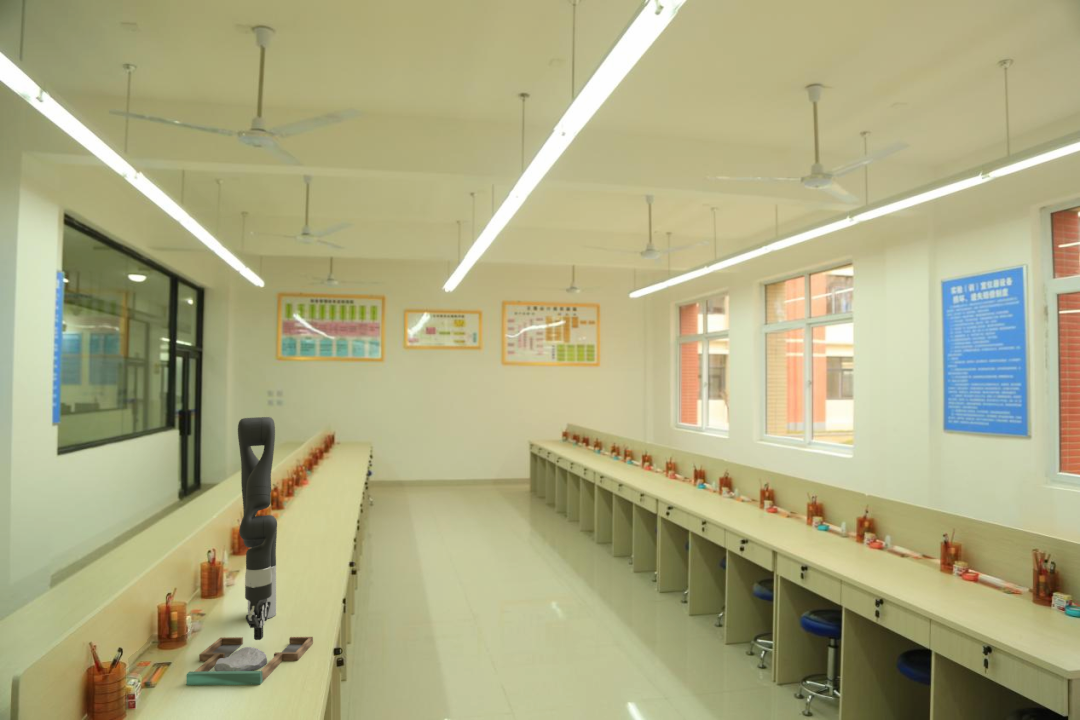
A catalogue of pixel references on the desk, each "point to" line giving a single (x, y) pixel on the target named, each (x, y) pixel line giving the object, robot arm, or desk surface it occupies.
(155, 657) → the desk surface
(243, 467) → the robot arm
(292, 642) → the trap lane
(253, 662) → the stone block
